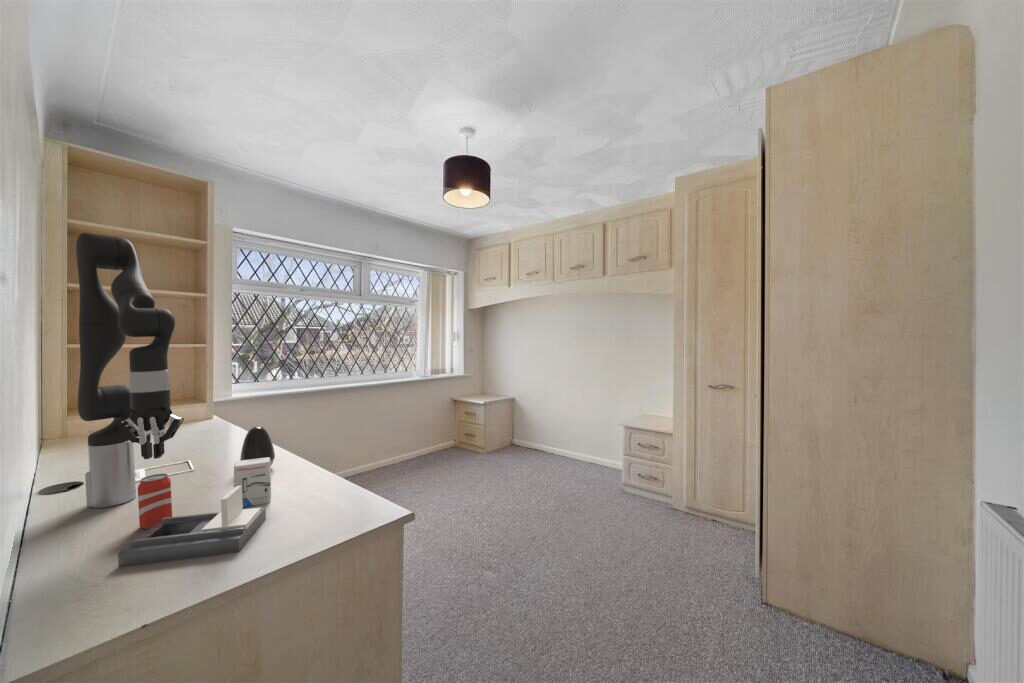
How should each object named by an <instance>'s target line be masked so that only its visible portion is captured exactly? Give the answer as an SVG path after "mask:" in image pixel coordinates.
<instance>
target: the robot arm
mask: <svg viewBox="0 0 1024 683" xmlns="http://www.w3.org/2000/svg"><path fill="white" fill-rule="evenodd" d="M75 254H76V265H77V266H76V267H77V276H78V284H79V285H78V286H79V313H78V315H79V316H78V338H79V358H80V360H79V361H80V364H79V366H80V367H79V368H80V369H79V381H78V391H77V411H78V415H79V417H80V418H81V420H83V421H85V422H94V421H100V420H106V419H107V420H109V419H113V420H112V421H111V423H109V424H108V425H106V426H105V427H103V428H101V429H98V430H96V431H94V432H92V433H90V434H89V435H88V436H87V445H88V446H87V450H88V454H87V455H88V468H89V469H88V471H87V472H86V473H85V474H84V475H85V476H84V479H85V480H84V481H85V497H86V498H85V499H86V507H87V508H95V509H98V508H99V509H100V508H101V509H102V508H108V507H109V508H110V507H113V506H118V505H121V504H124V503H128V502H130V501H132V500H134V499H135V498H136V497H137V493H136V491H137V488H136V483H135V470H136V468H135V467H136V466H135V446H134V444H135V443H137V444H139V445H140V456H141V457H142V458H143V459H144V460H150V459H151V458H153V459H154V460H155V459H160V458H161V457H163V455H165V442H166V441H168V440H170V439H173V438H174V436H175V435H176V433H177V431H178V430H179V428H180V426H181V425H182V424H183V422H184V420H185V418H184V417H182V416H180V417H179V416H176V415H174V413H173V412H172V410H171V404H172V403H171V383H170V382H171V380H170V375H169V369H168V368H169V367H168V366H169V365H168V354H169V353H168V352H169V348H170V344H171V343H170V342H171V339H172V336H173V333H174V331H175V326H176V319H175V317H174V314H173V313H172V312H171V311H170V310H168V309H166V308H155V305H156V303H155V300H154V296H153V295H152V293H151V292H150V290H149V289H148V287H147V285H146V283H145V280H144V276H143V273H142V269H141V266H140V262H139V259H138V255H137V252H136V250H135V247H134V245H133V243H132V242H131V241H130V240H129V239H127V238H124V237H119V236H113V235H106V234H99V233H93V232H81V233H79V235H78V236H77V239H76V243H75ZM98 269H99V270H112V271H113V270H114V271H118V270H119V271H121V272H120V273H119V274H118V275H117V276H115V278H114V279H113V281H112V283H111V284H110V285H111V286H110V291H111V295H112V297H113V298H112V297H111V296H110V295H109V294H108V293H107V291H106V290H105V288H104V287H103V285H102V284H101V281H100V278H99V275H98ZM127 337H131V338H144V337H145V338H146V337H152V338H153V337H154V338H153V340H152V342H150V343H149V344H147V345H141V346H137V347H134V348H131V349H130V351H129V354H128V355H129V357H128V358H129V371H130V372H129V380H128V381H129V383H128V384H129V385H127V384H116V385H115V384H114V385H103V386H99V385H100V380H101V377H102V374H103V372H104V370H105V368H106V367H107V366H108V365H109V363H110V362H111V360H112V359H113V358H114V357H115V356H116V355H117V354H118V353H119V351H120V350H121V349H122V347H123V346H124V345H125V343H126V340H127ZM168 422H169V423H168ZM167 424H169V427H168V428H166V425H167ZM135 426H136V427H135ZM152 437H153V442H151V441H152Z"/></svg>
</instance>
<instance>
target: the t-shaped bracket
mask: <svg viewBox="0 0 1024 683" xmlns="http://www.w3.org/2000/svg"><path fill="white" fill-rule="evenodd" d="M220 510H221V511H219V512H220V513H219V514H218V515H216V516H215V517H214V518H213V519H212V520H211V521H210V522H209V523H208V524H207V525H206V526H205V527H203V528H202V529H201V532H204V531H213V530H222V529H230V528H239V527H245V530H246V529H247V528H248V527H249V526H250V525H251V524H252V522H253V521H254V520H255V519H256V518H257V517H258V515H259V514H260V513H261V508H260V507H252V508H244V507H243V501H242V486H236V487H235V488H234V487H233V488H232V489H231V490H230V491H229V492H227V493H226V494H225V495H224V496H223V497H221V498H220Z"/></svg>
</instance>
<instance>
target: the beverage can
mask: <svg viewBox="0 0 1024 683" xmlns="http://www.w3.org/2000/svg"><path fill="white" fill-rule="evenodd" d="M168 474H169V473H156V474H151V475H146V477H144V478H142V479H141V482H139V484H138V486H137V502H138V520H139V528H141V529H142V528H143V529H146V530H149V529H151V528H152V527H153V526H155V525H156V524H157V523H159V522H160V521H161V520H162V519H163V518H166V517H173V503H172V482H171V481H172V480H171V478H170V476H167V475H168Z"/></svg>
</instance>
